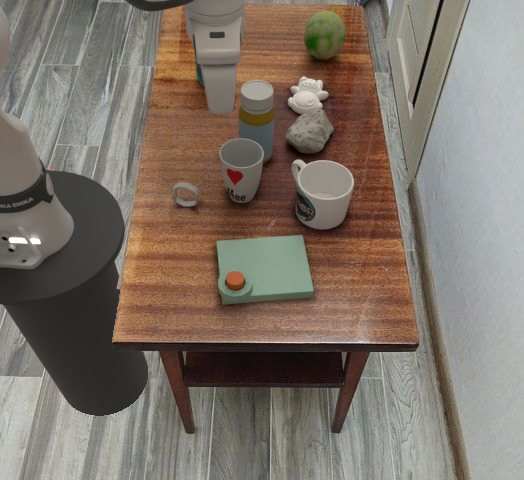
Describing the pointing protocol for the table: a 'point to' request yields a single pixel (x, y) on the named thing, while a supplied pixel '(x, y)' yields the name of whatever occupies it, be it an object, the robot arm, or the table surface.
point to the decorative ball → (324, 34)
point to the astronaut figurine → (307, 95)
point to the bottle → (257, 115)
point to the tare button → (235, 280)
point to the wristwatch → (189, 187)
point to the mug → (322, 193)
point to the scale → (265, 269)
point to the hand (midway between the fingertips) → (219, 103)
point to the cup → (241, 168)
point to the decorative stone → (310, 132)
